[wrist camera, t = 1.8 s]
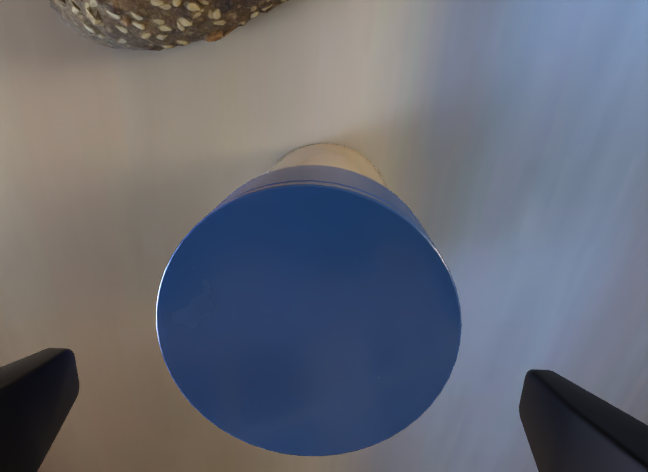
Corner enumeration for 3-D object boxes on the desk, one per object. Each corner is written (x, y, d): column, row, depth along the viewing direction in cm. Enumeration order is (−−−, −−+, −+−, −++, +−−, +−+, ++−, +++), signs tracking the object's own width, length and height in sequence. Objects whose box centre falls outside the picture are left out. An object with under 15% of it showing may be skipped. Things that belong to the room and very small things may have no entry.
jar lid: (454, 170, 11) (489, 193, 9) (424, 393, 13) (444, 465, 11) (187, 158, 11) (142, 176, 9) (199, 381, 13) (166, 448, 11)
